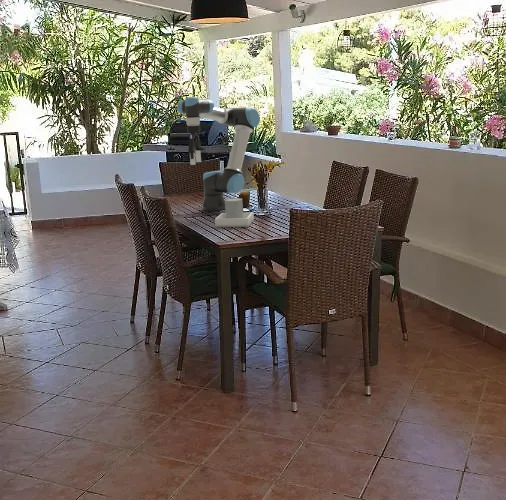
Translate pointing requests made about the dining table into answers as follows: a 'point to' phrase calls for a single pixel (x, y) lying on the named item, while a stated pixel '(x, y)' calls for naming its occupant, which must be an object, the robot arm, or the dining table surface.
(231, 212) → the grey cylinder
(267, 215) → the dining table surface
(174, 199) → the dining table surface
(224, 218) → the white square tray
